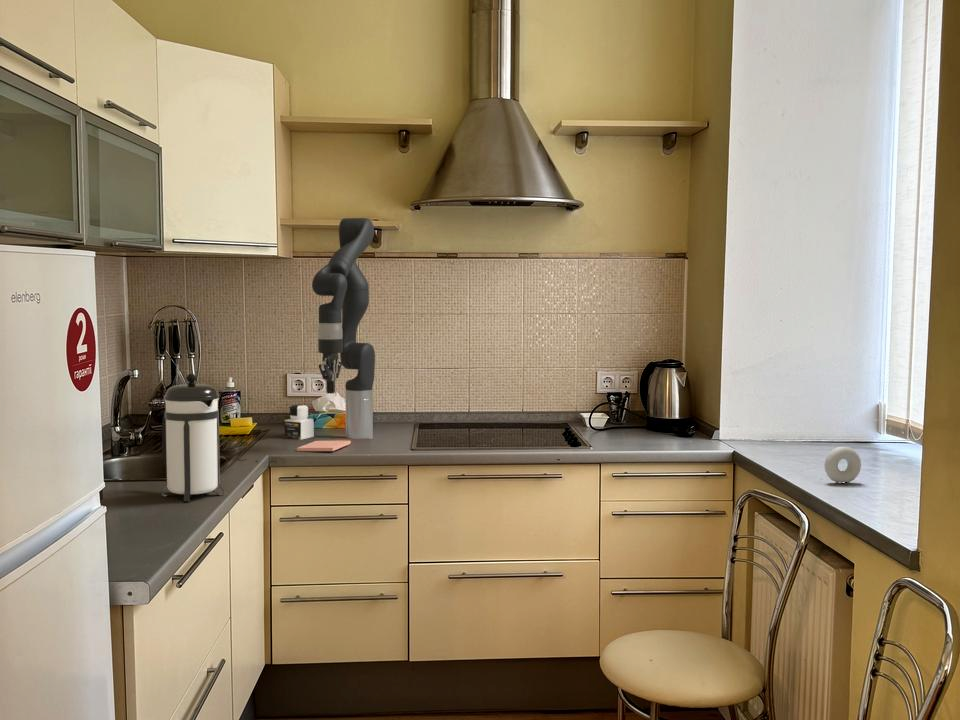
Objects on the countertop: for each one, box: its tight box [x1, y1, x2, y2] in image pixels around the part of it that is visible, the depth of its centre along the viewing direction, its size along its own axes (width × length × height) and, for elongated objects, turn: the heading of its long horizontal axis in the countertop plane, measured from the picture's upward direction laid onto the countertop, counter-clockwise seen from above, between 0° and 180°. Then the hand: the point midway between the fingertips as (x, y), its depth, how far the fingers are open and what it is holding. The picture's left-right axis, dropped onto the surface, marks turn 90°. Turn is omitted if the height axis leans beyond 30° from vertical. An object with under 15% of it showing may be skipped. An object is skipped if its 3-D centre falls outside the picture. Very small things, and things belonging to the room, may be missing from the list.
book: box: [296, 440, 351, 452], centre depth 271 cm, size 14×1×12 cm
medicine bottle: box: [283, 404, 315, 441], centre depth 292 cm, size 7×7×12 cm
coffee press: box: [160, 373, 226, 503], centre depth 210 cm, size 17×16×30 cm
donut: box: [824, 446, 862, 483], centre depth 229 cm, size 10×4×10 cm, turn 98°
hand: (330, 392), depth 268 cm, fingers closed
